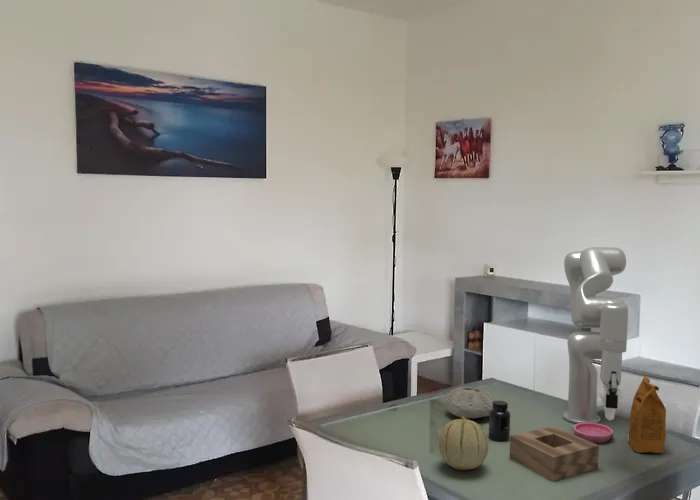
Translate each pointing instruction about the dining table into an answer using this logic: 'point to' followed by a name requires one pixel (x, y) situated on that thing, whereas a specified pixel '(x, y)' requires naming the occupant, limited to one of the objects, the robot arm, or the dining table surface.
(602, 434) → the saucer
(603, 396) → the lightbulb
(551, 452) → the socket block
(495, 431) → the supplement bottle
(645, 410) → the coffee package
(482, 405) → the grey rounded lump
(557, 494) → the dining table surface
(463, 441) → the cantaloupe
